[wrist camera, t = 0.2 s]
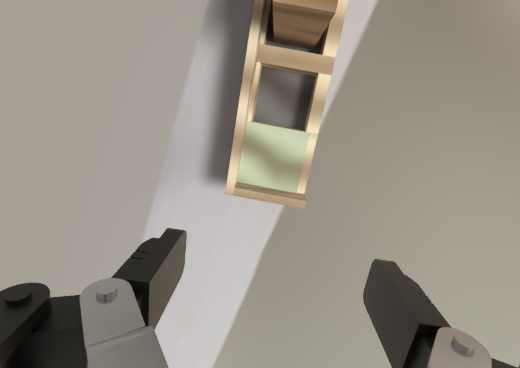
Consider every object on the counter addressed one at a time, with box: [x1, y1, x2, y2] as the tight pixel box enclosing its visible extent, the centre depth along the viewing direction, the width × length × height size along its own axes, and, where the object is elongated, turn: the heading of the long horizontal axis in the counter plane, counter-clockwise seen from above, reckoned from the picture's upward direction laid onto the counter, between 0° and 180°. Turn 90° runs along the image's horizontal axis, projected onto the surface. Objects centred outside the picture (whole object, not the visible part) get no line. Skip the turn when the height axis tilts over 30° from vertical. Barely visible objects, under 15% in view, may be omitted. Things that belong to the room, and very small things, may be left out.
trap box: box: [225, 0, 348, 209], centre depth 34 cm, size 28×10×6 cm, turn 170°
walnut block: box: [273, 0, 338, 50], centre depth 28 cm, size 5×5×14 cm
